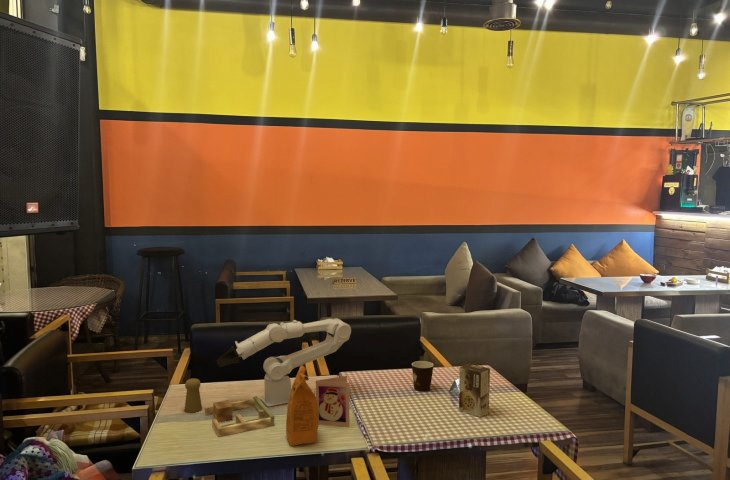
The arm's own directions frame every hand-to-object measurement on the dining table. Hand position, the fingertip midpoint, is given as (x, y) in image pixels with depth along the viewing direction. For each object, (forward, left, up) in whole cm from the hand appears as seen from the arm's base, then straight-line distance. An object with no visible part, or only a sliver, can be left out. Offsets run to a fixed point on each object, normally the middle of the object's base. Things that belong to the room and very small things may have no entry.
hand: (217, 364), depth 188 cm
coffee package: (-18, +34, -17) cm, 42 cm away
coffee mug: (-77, +15, -17) cm, 80 cm away
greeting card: (-32, +28, -17) cm, 46 cm away
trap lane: (-4, +11, -17) cm, 21 cm away
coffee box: (-80, +43, -17) cm, 92 cm away
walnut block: (0, +8, -17) cm, 18 cm away
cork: (+8, -4, -17) cm, 19 cm away
